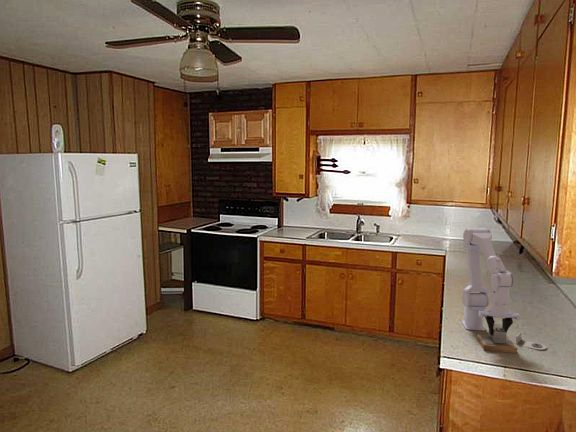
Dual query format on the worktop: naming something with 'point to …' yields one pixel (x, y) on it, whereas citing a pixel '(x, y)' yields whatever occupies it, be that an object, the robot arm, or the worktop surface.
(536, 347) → the bracket
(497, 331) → the housing
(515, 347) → the stand
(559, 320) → the worktop surface
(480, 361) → the worktop surface
